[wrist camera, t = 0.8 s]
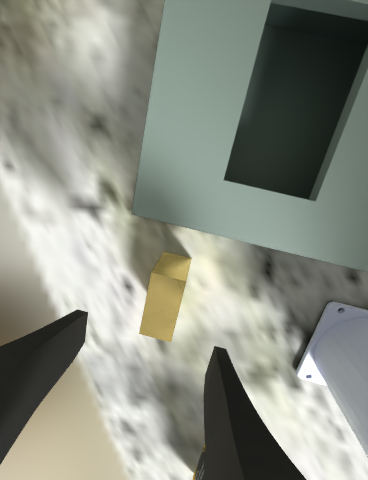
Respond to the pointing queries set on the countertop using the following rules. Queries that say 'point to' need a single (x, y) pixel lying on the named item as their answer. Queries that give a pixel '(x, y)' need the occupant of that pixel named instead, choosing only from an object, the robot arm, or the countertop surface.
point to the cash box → (261, 125)
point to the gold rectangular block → (164, 296)
